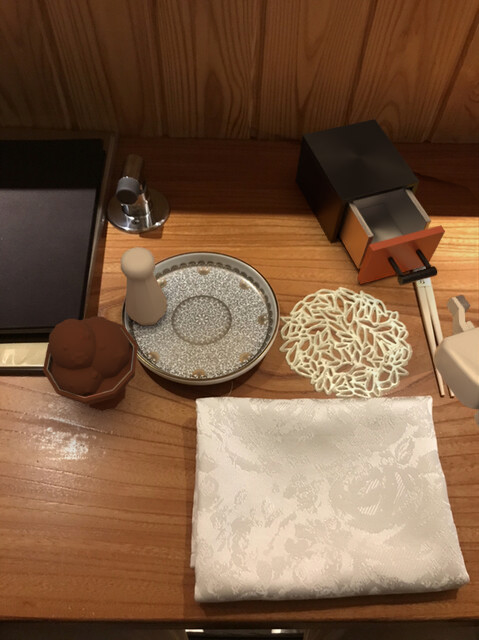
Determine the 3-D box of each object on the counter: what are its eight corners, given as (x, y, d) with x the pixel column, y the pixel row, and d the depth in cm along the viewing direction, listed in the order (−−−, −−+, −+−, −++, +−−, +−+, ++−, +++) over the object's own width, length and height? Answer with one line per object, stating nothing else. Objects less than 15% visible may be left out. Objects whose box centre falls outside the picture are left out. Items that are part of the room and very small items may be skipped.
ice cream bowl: (89, 447, 70) (60, 398, 57) (48, 381, 74) (13, 321, 62) (162, 401, 73) (150, 345, 60) (119, 341, 78) (99, 276, 65)
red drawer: (443, 289, 83) (463, 256, 76) (374, 309, 81) (388, 277, 74) (387, 202, 92) (400, 166, 85) (323, 218, 90) (331, 182, 83)
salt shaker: (176, 308, 81) (169, 251, 70) (153, 337, 78) (142, 283, 67) (143, 291, 82) (131, 232, 71) (119, 319, 80) (103, 262, 69)
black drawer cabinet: (401, 225, 91) (419, 181, 83) (330, 243, 88) (342, 200, 80) (362, 164, 98) (375, 118, 90) (295, 180, 95) (302, 134, 87)
